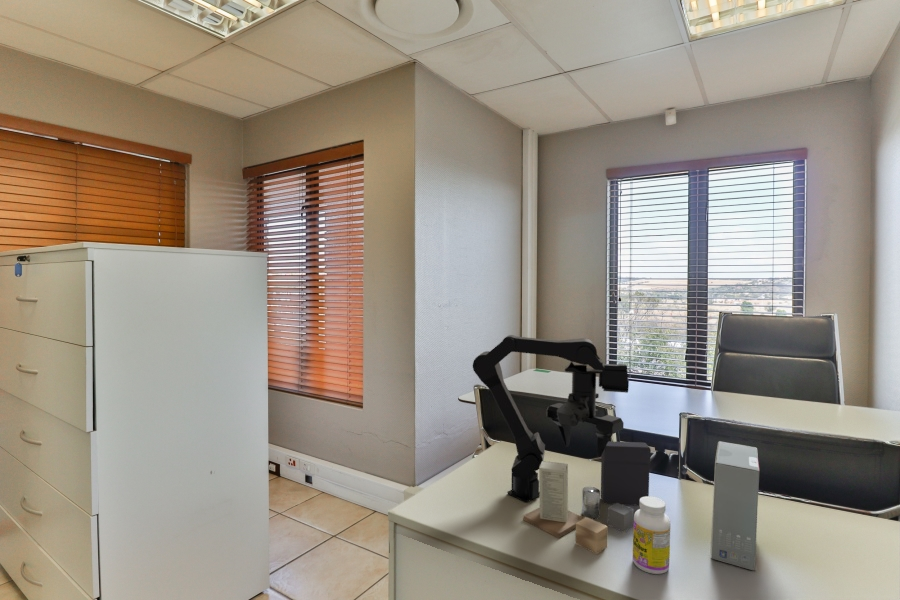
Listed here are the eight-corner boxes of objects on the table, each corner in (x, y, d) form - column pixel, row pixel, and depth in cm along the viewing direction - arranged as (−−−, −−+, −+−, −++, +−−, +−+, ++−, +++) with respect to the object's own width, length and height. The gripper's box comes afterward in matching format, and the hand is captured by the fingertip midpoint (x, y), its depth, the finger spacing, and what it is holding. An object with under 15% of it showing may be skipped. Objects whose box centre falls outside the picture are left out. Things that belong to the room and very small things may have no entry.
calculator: (643, 499, 119) (645, 441, 118) (649, 507, 115) (650, 447, 114) (599, 496, 120) (600, 439, 119) (603, 505, 116) (604, 445, 115)
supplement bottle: (626, 555, 95) (627, 494, 94) (657, 554, 95) (659, 492, 95) (642, 576, 88) (644, 510, 88) (676, 575, 89) (678, 509, 88)
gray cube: (607, 525, 107) (607, 508, 107) (616, 519, 109) (617, 502, 109) (623, 532, 104) (624, 514, 104) (632, 526, 106) (633, 509, 106)
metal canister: (578, 514, 111) (579, 489, 111) (588, 509, 114) (588, 485, 114) (593, 521, 108) (594, 495, 108) (602, 515, 111) (603, 490, 111)
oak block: (575, 543, 99) (576, 523, 99) (586, 537, 102) (586, 516, 102) (596, 554, 95) (596, 533, 95) (607, 547, 98) (607, 526, 98)
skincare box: (568, 514, 109) (569, 463, 109) (566, 523, 105) (567, 471, 105) (541, 509, 111) (541, 459, 111) (538, 518, 107) (539, 467, 107)
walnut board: (523, 519, 109) (523, 515, 109) (549, 506, 115) (549, 502, 115) (559, 538, 101) (559, 533, 101) (585, 522, 108) (585, 517, 108)
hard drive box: (755, 573, 90) (759, 471, 88) (710, 560, 94) (713, 462, 93) (754, 535, 103) (757, 446, 102) (714, 525, 107) (716, 439, 106)
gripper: (533, 387, 118) (532, 448, 119) (600, 403, 104) (598, 471, 105) (559, 381, 125) (559, 438, 126) (625, 394, 111) (623, 459, 112)
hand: (582, 451), depth 117 cm, fingers open, 9 cm apart
